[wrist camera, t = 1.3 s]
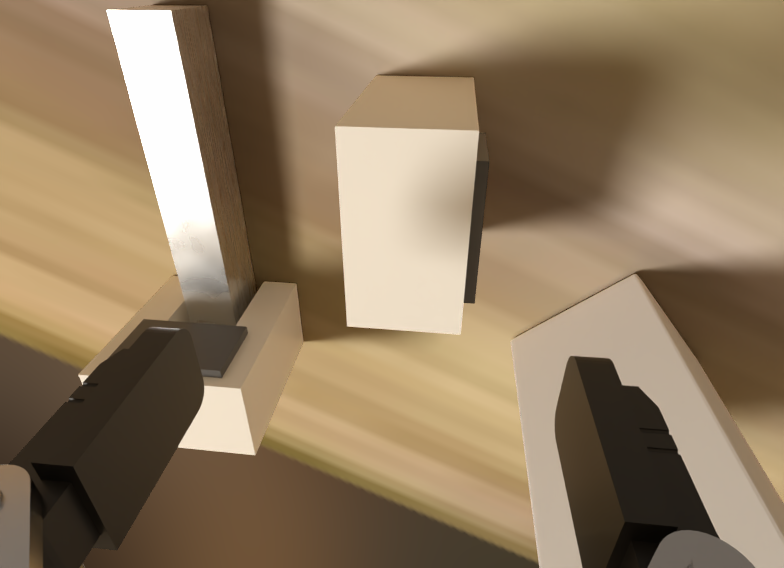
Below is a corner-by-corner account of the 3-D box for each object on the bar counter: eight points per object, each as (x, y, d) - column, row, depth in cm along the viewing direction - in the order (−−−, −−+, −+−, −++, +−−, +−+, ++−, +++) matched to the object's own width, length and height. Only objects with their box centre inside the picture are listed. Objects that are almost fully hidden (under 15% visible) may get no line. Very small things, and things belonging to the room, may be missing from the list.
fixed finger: (295, 277, 27) (239, 381, 20) (303, 342, 29) (255, 455, 22) (170, 269, 27) (75, 367, 21) (188, 333, 30) (107, 440, 23)
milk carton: (577, 415, 29) (713, 945, 13) (508, 337, 27) (574, 869, 11) (699, 362, 26) (1061, 963, 10) (634, 269, 24) (976, 864, 8)
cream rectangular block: (376, 75, 21) (334, 126, 14) (483, 77, 20) (494, 131, 14) (378, 228, 24) (346, 326, 18) (469, 232, 24) (472, 335, 17)
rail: (207, 5, 20) (170, 10, 18) (264, 339, 29) (246, 374, 27) (150, 5, 20) (106, 10, 18) (225, 336, 29) (203, 370, 27)
